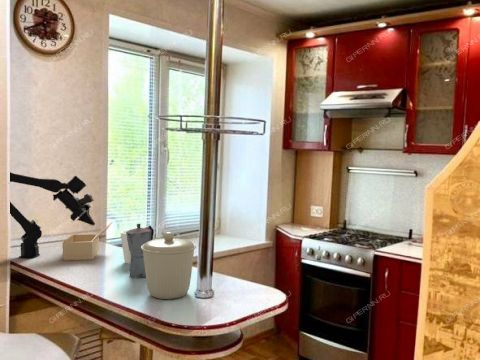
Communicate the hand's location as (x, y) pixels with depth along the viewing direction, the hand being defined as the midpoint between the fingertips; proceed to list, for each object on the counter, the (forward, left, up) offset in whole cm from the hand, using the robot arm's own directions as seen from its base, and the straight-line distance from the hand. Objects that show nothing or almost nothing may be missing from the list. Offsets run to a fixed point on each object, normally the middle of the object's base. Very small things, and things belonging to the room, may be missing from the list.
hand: (94, 224), depth 210 cm
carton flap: (+6, -4, -2) cm, 8 cm away
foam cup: (+23, -15, -13) cm, 31 cm away
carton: (-3, -7, -13) cm, 15 cm away
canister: (+50, -55, -13) cm, 75 cm away
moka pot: (+33, -33, -13) cm, 48 cm away
